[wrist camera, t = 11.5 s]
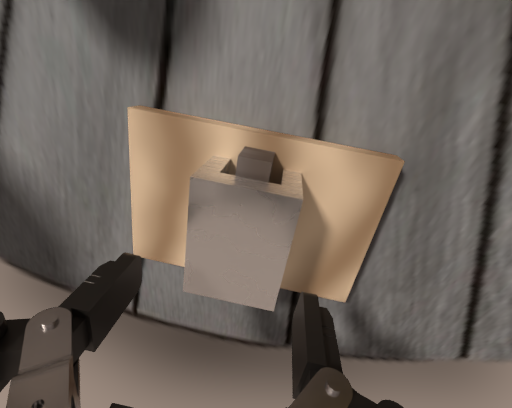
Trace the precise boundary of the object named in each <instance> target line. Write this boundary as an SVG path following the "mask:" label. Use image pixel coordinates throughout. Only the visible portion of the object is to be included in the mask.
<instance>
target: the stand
mask: <svg viewBox="0 0 512 408" xmlns="http://www.w3.org/2000/svg"><path fill="white" fill-rule="evenodd" d="M128 130H129V155H130V180H131V205H132V230H133V254H134V255H139V256H141V257H142V258H147V259H151V260H156V261H160V262H165V263H169V264H174V265H178V266H183V267H185V252H186V236H187V219H188V203H189V187H190V176H191V175H193V174H194V173H195V172H196V171H197V170H198V169H199V168H200V167H201V166H202V165H203V164H204V163H206V162H207V161H208V160H209V159H210V158H211V157H212V156H213V155H215V156H220V157H225V158H230V159H231V161H230V169H229V174H230V175H235V176H240V177H245V178H250V179H255V180H260V181H265V182H270V183H275V184H279V185H280V183H281V178H282V173H283V169H285V170H290V171H295V172H300V173H301V177H302V189H303V203H302V207H301V210H300V214H299V218H298V222H297V225H296V229H295V233H294V237H293V240H292V244H291V248H290V252H289V255H288V259H287V263H286V267H285V270H284V274H283V278H282V282H281V285H280V288H282V289H287V290H291V291H296V292H300V293H301V292H307V293H312V294H316V295H317V296H318V297H323V298H327V299H332V300H336V301H341V302H346V299H347V297H348V295H349V292H350V290H351V288H352V285H353V283H354V281H355V278H356V276H357V273H358V271H359V269H360V266H361V264H362V262H363V259H364V257H365V254H366V252H367V250H368V247H369V245H370V243H371V240H372V238H373V235H374V233H375V231H376V228H377V226H378V224H379V221H380V219H381V216H382V214H383V212H384V209H385V207H386V205H387V202H388V200H389V197H390V195H391V193H392V190H393V188H394V186H395V183H396V181H397V179H398V176H399V174H400V171H401V169H402V167H403V164H404V162H405V161H403V160H402V159H400V158H399V157H398V156H396V155H391V154H386V153H381V152H376V151H371V150H366V149H360V148H355V147H350V146H345V145H340V144H335V143H330V142H324V141H319V140H314V139H309V138H304V137H299V136H294V135H288V134H283V133H278V132H273V131H268V130H263V129H258V128H252V127H247V126H242V125H237V124H232V123H227V122H222V121H217V120H211V119H206V118H201V117H196V116H191V115H186V114H181V113H175V112H170V111H165V110H160V109H155V108H150V107H145V106H133V107H128Z"/></svg>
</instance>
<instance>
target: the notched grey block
mask: <svg viewBox="0 0 512 408" xmlns="http://www.w3.org/2000/svg"><path fill="white" fill-rule="evenodd" d="M230 161H231V159H230V158H225V157H220V156H215V155H213V156H212V157H211V158H210V159H209V160H208V161H207V162H206V163H204V164H203V165H202V166H201V167H200V168H199V169H198V170H197V171H196V172H195V173H194V174H193V175H191V176H190V187H189V203H188V219H187V236H186V252H185V268H184V284H183V291H184V292H189V293H193V294H198V295H202V296H207V297H211V298H216V299H220V300H225V301H229V302H233V303H238V304H242V305H247V306H251V307H256V308H260V309H265V310H269V311H274V308H275V304H276V300H277V297H278V293H279V289H280V285H281V282H282V278H283V274H284V270H285V267H286V263H287V259H288V255H289V252H290V248H291V244H292V240H293V237H294V233H295V229H296V225H297V222H298V218H299V214H300V210H301V207H302V203H303V189H302V177H301V173H300V172H295V171H290V170H285V169H283V173H282V178H281V183H280V185H279V184H275V183H270V182H265V181H260V180H255V179H250V178H245V177H240V176H235V175H230V174H229V169H230Z"/></svg>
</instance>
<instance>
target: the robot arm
mask: <svg viewBox="0 0 512 408" xmlns="http://www.w3.org/2000/svg"><path fill="white" fill-rule="evenodd" d="M141 281H142V266H141V256H139V255H134V254H130V253H123V254H122V255H121V256H120V257H119V258H118V259H117V260H116V261H109V262H107V263H105V264H103V265H101V266H99V267H98V268H97V269H96V270H95V271H94V272H93V273H92V275H91V276H89V277H88V278H87V279H86V280H85V282H83V283H82V284H81V285H80V286H79V287H78V288H77V289H76V290H75V291H74V292H73V293H72V294H71V295H70V296H69V297H68V298H67V299H66V300H65V301H64V302H63V303H62V304H61V305H60V306H59V307H55V308H50V309H46V310H43V311H41V312H39V313H38V314H36V315H35V316H33V317H32V318H31V319H17V320H5V318H4V315H3V313H2V312H0V392H1V391H2V389H3V388H4V387H5V386H6V385H7V384H8V382H9V381H10V380H11V379H12V380H11V384H10V389H9V394H8V400H7V406H6V408H81V407H80V367H79V366H80V365H79V357H80V356H81V354H82V353H83V352H84V350H88V351H92V352H95V351H96V349H97V348H98V346H99V345H100V344H101V342H102V341H103V340H104V338H105V337H106V335H107V334H108V333H109V331H110V330H111V328H112V327H113V325H114V324H115V323H116V321H117V320H118V319H119V317H120V316H121V314H122V313H123V312H124V310H125V309H126V307H127V306H128V305H129V303H130V302H131V301H132V299H133V298H134V296H135V295H136V294H137V292H138V290H139V288H140V285H141ZM292 368H293V369H292V371H293V372H292V373H293V374H292V379H293V398H294V399H295V400H294V402H293V403H292V404H291V405H290V406H289V407H288V408H403V407H402V406H401V405H399V404H398V403H396V402H394V401H391V400H382V401H381V402H379V403H378V404H376V403H374V402H373V401H371V400H369V399H367V398H366V397H364V396H362V395H360V394H359V393H357V392H356V391H355V390H354V389H353V388H352V387H351V385H350V383H349V381H348V379H347V378H346V377H345V376H344V375H343V372H342V367H341V361H340V356H339V350H338V345H337V339H336V334H335V330H334V323H333V318H332V316H331V315H330V313H329V311H328V310H327V308H323V307H319V302H318V296H317V295H316V294H312V293H307V292H301V294H300V297H299V300H298V303H297V306H296V309H295V312H294V315H293V321H292ZM110 408H132V407H128V406H124V405H119V404H115V403H112V404H111V406H110Z"/></svg>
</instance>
